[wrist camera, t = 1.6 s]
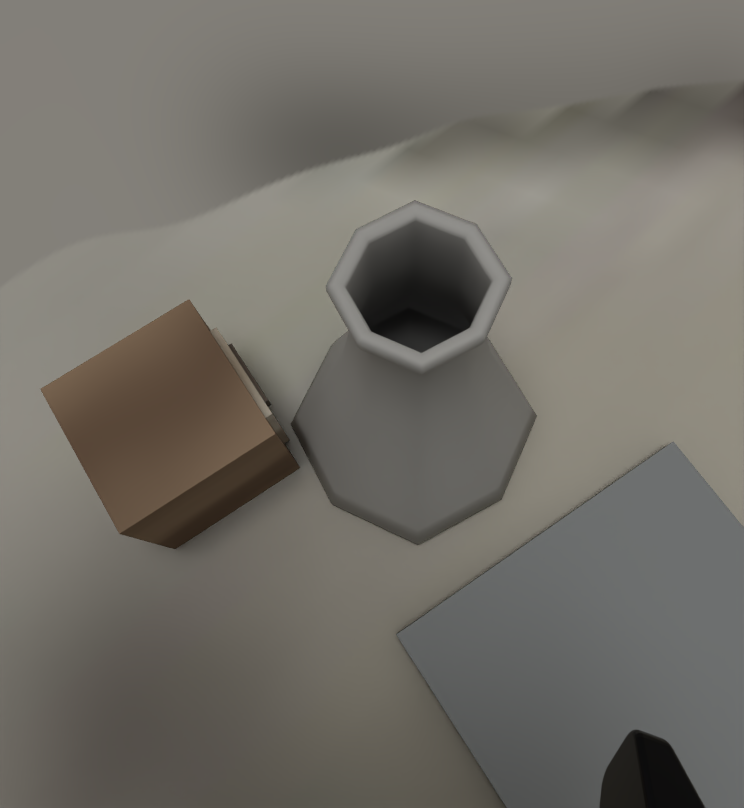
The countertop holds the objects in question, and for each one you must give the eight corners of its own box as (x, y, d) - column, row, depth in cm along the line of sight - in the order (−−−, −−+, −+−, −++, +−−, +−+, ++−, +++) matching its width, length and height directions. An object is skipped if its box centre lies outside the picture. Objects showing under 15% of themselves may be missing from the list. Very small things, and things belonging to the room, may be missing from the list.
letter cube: (308, 462, 22) (285, 426, 18) (176, 549, 22) (119, 533, 17) (236, 351, 24) (198, 293, 19) (108, 431, 23) (40, 389, 19)
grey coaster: (908, 744, 19) (923, 747, 19) (616, 978, 18) (623, 990, 18) (666, 445, 22) (673, 441, 21) (396, 633, 21) (396, 634, 20)
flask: (407, 274, 24) (408, 50, 14) (576, 416, 22) (704, 269, 13) (252, 427, 23) (140, 292, 13) (419, 589, 21) (431, 570, 11)
